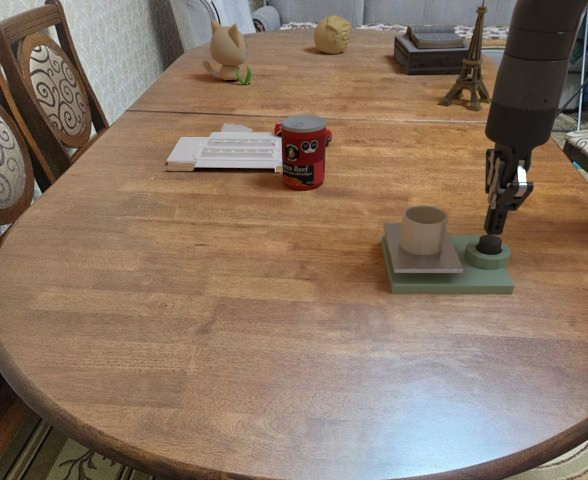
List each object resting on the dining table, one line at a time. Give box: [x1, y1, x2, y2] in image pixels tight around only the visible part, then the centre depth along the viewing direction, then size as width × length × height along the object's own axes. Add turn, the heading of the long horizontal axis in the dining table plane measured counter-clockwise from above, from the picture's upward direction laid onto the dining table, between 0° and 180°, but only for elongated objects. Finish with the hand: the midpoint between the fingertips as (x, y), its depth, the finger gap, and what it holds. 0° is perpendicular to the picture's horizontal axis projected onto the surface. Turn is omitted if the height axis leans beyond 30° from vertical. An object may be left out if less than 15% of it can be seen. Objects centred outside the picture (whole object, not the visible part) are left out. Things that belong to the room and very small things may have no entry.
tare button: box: [477, 234, 503, 255], centre depth 76 cm, size 3×3×2 cm
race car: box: [273, 119, 333, 144], centre depth 117 cm, size 13×5×4 cm, turn 59°
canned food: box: [281, 114, 327, 191], centre depth 98 cm, size 8×8×11 cm
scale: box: [380, 234, 515, 295], centre depth 77 cm, size 17×14×3 cm
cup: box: [399, 204, 450, 255], centre depth 75 cm, size 6×6×4 cm
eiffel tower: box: [437, 0, 492, 112], centre depth 131 cm, size 11×11×25 cm
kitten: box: [202, 18, 252, 84], centre depth 153 cm, size 15×10×15 cm
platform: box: [382, 222, 464, 273], centre depth 76 cm, size 9×13×1 cm
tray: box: [166, 122, 282, 173], centre depth 113 cm, size 20×28×4 cm
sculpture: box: [313, 14, 352, 55], centre depth 182 cm, size 11×12×11 cm
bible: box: [393, 24, 475, 76], centre depth 167 cm, size 23×27×10 cm
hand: (492, 232), depth 75 cm, fingers closed
